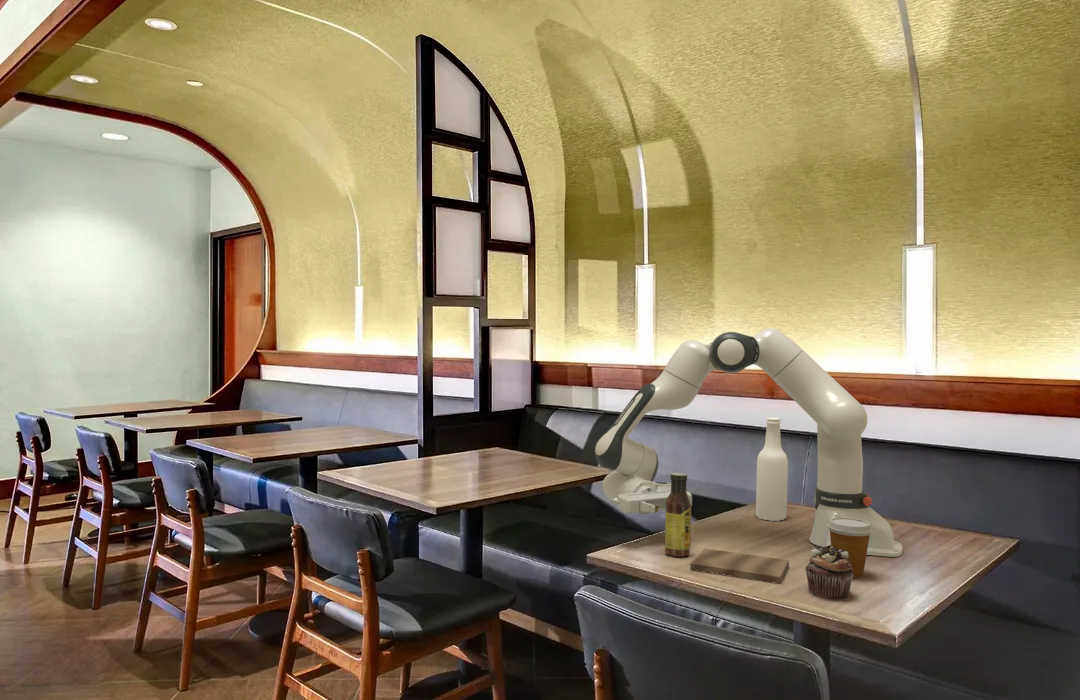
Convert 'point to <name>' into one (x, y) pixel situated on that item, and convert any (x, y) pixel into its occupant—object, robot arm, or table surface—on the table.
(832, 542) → the disposable coffee cup
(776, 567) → the walnut board
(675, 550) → the sauce bottle
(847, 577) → the cupcake
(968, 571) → the table surface
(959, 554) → the table surface
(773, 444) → the alcohol
